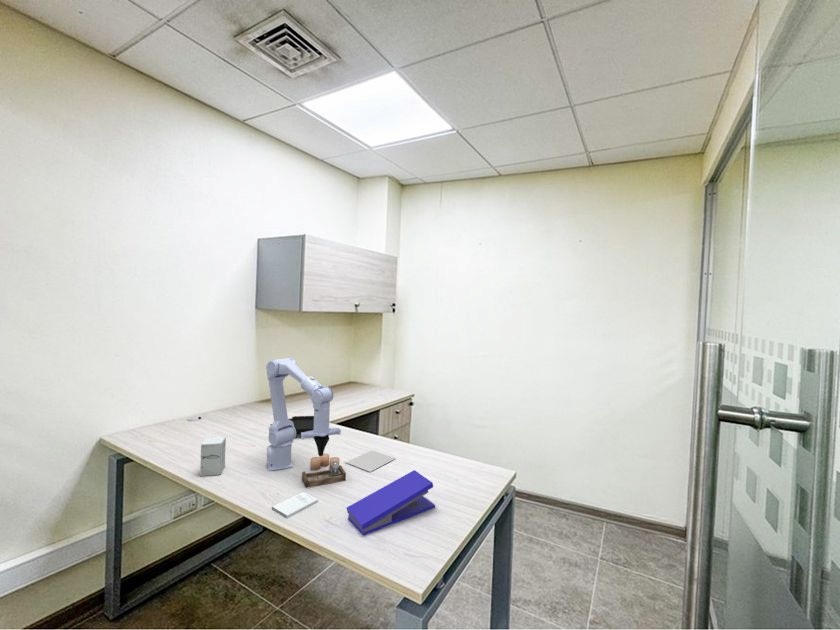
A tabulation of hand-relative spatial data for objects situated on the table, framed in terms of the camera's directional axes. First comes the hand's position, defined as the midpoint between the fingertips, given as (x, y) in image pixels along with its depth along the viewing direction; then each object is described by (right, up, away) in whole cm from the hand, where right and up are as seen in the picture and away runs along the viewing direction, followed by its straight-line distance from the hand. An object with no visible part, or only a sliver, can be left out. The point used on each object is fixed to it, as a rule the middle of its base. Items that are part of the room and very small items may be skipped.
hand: (320, 454), depth 142 cm
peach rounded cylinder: (-2, -9, +14) cm, 17 cm away
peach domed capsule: (-5, -9, +10) cm, 15 cm away
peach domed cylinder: (+3, -10, +11) cm, 15 cm away
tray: (-25, -7, +53) cm, 59 cm away
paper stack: (+18, -11, +13) cm, 25 cm away
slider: (+5, -9, +3) cm, 10 cm away
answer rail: (+1, -10, +1) cm, 10 cm away
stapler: (+29, -12, -20) cm, 37 cm away
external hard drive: (-4, -11, -17) cm, 21 cm away
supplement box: (-43, -8, +4) cm, 44 cm away
